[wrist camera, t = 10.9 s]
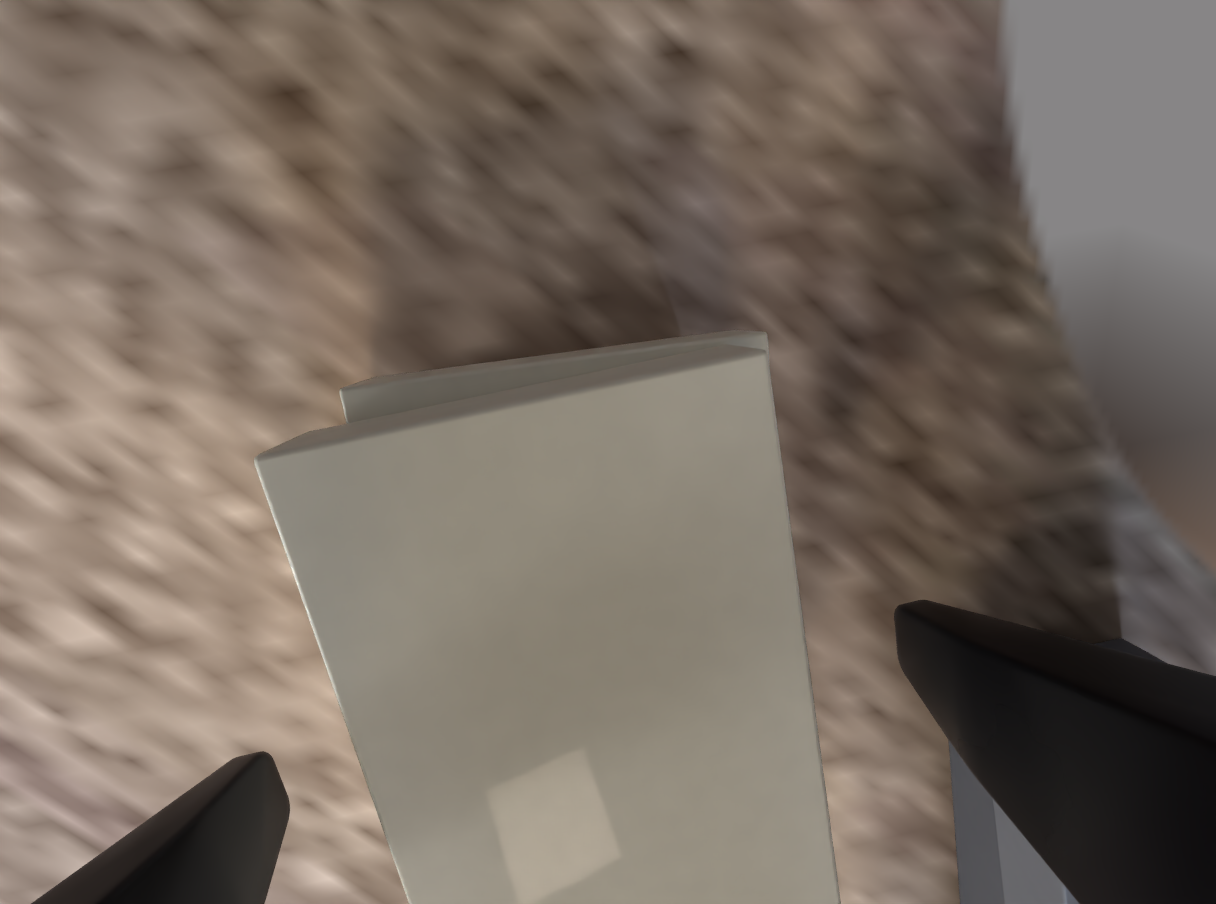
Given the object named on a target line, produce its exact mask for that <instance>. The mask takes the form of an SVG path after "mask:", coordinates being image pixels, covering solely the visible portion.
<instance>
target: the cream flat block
mask: <svg viewBox="0 0 1216 904" xmlns="http://www.w3.org/2000/svg"><path fill="white" fill-rule="evenodd" d="M725 344H728V345H735V346H742V347H749V348H757V349H762V350H765V351H766V353H767V354H768V360H769V350H768V335H767V333H766V332H763V331H746V330H728V331H721V332H713V333H706V334H698V335H691V336H683V337H675V338H668V339H660V340H653V341H645V342H638V343H630V344H623V345H615V346H607V347H600V348H592V349H585V350H577V351H570V352H562V353H555V354H547V355H540V356H532V357H524V358H517V359H509V360H502V361H494V362H487V363H479V364H472V365H464V366H456V367H449V368H441V369H434V370H426V371H419V372H411V373H404V374H396V375H389V376H381V377H374V378H370V379H367V380H364V381H361V382H358V383H355V384H352V385H349V386H345V387H343V388H341V389H340V397H341V402H342V406H343V410H344V415H345V419H346V423H352V422H357V421H362V420H366V419H371V418H376V417H381V416H386V415H390V414H395V413H400V412H405V411H410V410H414V409H419V408H424V407H429V406H433V405H438V404H443V403H448V402H453V401H457V400H462V399H467V398H472V397H477V396H481V395H486V394H491V393H496V392H500V391H505V390H510V389H515V388H520V387H524V386H529V385H534V384H539V383H544V382H548V381H553V380H558V379H563V378H567V377H572V376H577V375H582V374H587V373H591V372H596V371H601V370H606V369H611V368H615V367H620V366H625V365H630V364H635V363H639V362H644V361H649V360H654V359H658V358H663V357H668V356H673V355H678V354H682V353H687V352H692V351H697V350H702V349H706V348H711V347H716V346H721V345H725ZM769 368H770V366H769Z"/></svg>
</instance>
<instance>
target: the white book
mask: <svg viewBox="0 0 1216 904" xmlns="http://www.w3.org/2000/svg"><path fill="white" fill-rule="evenodd" d="M254 464H255V467H256V470H257V473H258V476H259V478H260V481H261V484H262V487H263V490H264V493H265V495H266V498H267V501H268V504H269V507H270V510H271V512H272V515H273V518H274V521H275V524H276V527H277V530H278V532H279V535H280V538H281V541H282V544H283V547H284V549H285V552H286V555H287V558H288V561H289V564H290V566H291V569H292V572H293V575H294V578H295V581H296V583H297V586H298V589H299V592H300V595H301V598H302V601H303V603H304V606H305V609H306V612H307V615H308V618H309V620H310V623H311V626H312V629H313V632H314V635H315V637H316V640H317V643H318V646H319V649H320V652H321V655H322V657H323V660H324V663H325V666H326V669H327V672H328V674H329V677H330V680H331V683H332V686H333V689H334V691H335V694H336V697H337V700H338V703H339V706H340V708H341V711H342V714H343V717H344V720H345V723H346V726H347V728H348V731H349V734H350V737H351V740H352V743H353V745H354V748H355V751H356V754H357V757H358V760H359V762H360V765H361V768H362V771H363V774H364V777H365V779H366V782H367V785H368V788H369V791H370V794H371V797H372V799H373V802H374V805H375V808H376V811H377V814H378V816H379V819H380V822H381V825H382V828H383V831H384V833H385V836H386V839H387V842H388V845H389V848H390V851H391V853H392V856H393V859H394V862H395V865H396V868H397V870H398V873H399V876H400V879H401V882H402V885H403V887H404V890H405V893H406V896H407V899H408V902H409V904H841V901H840V894H839V886H838V879H837V871H836V864H835V856H834V849H833V841H832V834H831V826H830V819H829V811H828V804H827V796H826V789H825V781H824V774H823V766H822V759H821V751H820V744H819V736H818V729H817V721H816V713H815V706H814V698H813V691H812V683H811V676H810V668H809V661H808V653H807V646H806V638H805V631H804V623H803V616H802V608H801V601H800V593H799V586H798V578H797V571H796V563H795V556H794V548H793V541H792V533H791V526H790V518H789V511H788V503H787V496H786V488H785V481H784V473H783V466H782V458H781V451H780V443H779V436H778V428H777V420H776V413H775V405H774V398H773V390H772V383H771V375H770V368H769V360H768V354H767V353H766V351H765V350H762V349H757V348H749V347H742V346H735V345H728V344H725V345H721V346H716V347H711V348H706V349H702V350H697V351H692V352H687V353H682V354H678V355H673V356H668V357H663V358H658V359H654V360H649V361H644V362H639V363H635V364H630V365H625V366H620V367H615V368H611V369H606V370H601V371H596V372H591V373H587V374H582V375H577V376H572V377H567V378H563V379H558V380H553V381H548V382H544V383H539V384H534V385H529V386H524V387H520V388H515V389H510V390H505V391H500V392H496V393H491V394H486V395H481V396H477V397H472V398H467V399H462V400H457V401H453V402H448V403H443V404H438V405H433V406H429V407H424V408H419V409H414V410H410V411H405V412H400V413H395V414H390V415H386V416H381V417H376V418H371V419H366V420H362V421H357V422H352V423H347V424H343V425H338V426H333V427H328V428H323V429H319V430H314V431H309V432H307V433H304V434H302V435H300V436H298V437H296V438H293V439H291V440H289V441H287V442H285V443H282V444H280V445H278V446H276V447H274V448H271V449H269V450H267V451H265V452H263V453H260V454H259V455H257V456H256V457H255V458H254Z"/></svg>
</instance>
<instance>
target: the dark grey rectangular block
mask: <svg viewBox="0 0 1216 904" xmlns="http://www.w3.org/2000/svg"><path fill="white" fill-rule="evenodd" d="M1095 645H1099V646H1102V647H1106V648H1110V649H1114V650H1117V651H1121V652H1125V653H1129V654H1133V655H1136V656H1140V657H1144V658H1148V659H1152V660H1155V661H1159V662H1163V663H1166V662H1164V661H1162V660H1160V659H1158V658H1157V657H1155V656H1153V655H1151V654H1149V653H1148V652H1146V651H1144V650H1142V649H1141V648H1139V647H1137V646H1135V645H1133V644H1132V643H1130V642H1128V641H1126V640H1124V639H1122V638H1118V639H1114V640H1110V641H1106V642H1101V643H1097V644H1095ZM949 752H950V766H951V780H952V794H953V809H954V823H955V837H956V851H957V866H958V880H959V894H960V904H1079V903H1078V902H1077V900H1076V899H1075V898H1074V897H1073V895H1072V894H1071V893H1070V892H1069V891H1068V889H1067V888H1066V887H1065V886H1064V885H1063V883H1062V882H1061V881H1060V880H1059V878H1058V877H1057V876H1056V875H1055V874H1054V872H1053V871H1052V870H1051V869H1050V868H1049V866H1048V865H1047V864H1046V863H1045V861H1044V860H1043V859H1042V858H1041V857H1040V855H1039V854H1038V853H1037V852H1036V850H1035V849H1034V848H1033V847H1032V846H1031V844H1030V843H1029V842H1028V841H1027V840H1026V838H1025V837H1024V836H1023V835H1022V833H1021V832H1020V831H1019V830H1018V829H1017V827H1016V826H1015V825H1014V824H1013V823H1012V821H1011V820H1010V819H1009V818H1008V816H1007V815H1006V814H1005V813H1004V812H1003V810H1002V809H1001V808H1000V807H999V805H998V804H997V803H996V802H995V801H994V799H993V798H992V797H991V796H990V795H989V793H988V792H987V791H986V790H985V788H984V787H983V786H982V785H981V784H980V782H979V781H978V780H977V778H976V777H975V776H974V775H973V773H972V772H971V771H970V770H969V768H968V767H967V765H966V764H965V763H964V761H963V760H962V758H961V757H960V756H959V754H958V753H957V751H956V750H955V748H954V747H953V745H952V744H951V742H950V741H949Z"/></svg>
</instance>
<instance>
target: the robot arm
mask: <svg viewBox="0 0 1216 904" xmlns="http://www.w3.org/2000/svg"><path fill="white" fill-rule="evenodd" d="M894 621H895V632H896V643H897V654H898V660H899V663H900V666H901V668H902V670H903V672H904V674H905V676H906V677H907V679H908V680H909V682H910V683H911V684H912V686H913V687H914V689H915V690H916V692H917V693H918V695H919V696H920V698H921V699H922V701H923V702H924V704H925V705H926V707H927V708H928V710H929V711H930V713H931V714H932V716H933V717H934V719H935V720H936V722H937V723H938V725H939V726H940V728H941V729H942V731H943V732H944V734H945V735H946V737H947V738H948V739H949V741H950V742H951V744H952V745H953V747H954V748H955V750H956V751H957V753H958V754H959V756H960V757H961V758H962V760H963V761H964V763H965V764H966V765H967V767H968V768H969V770H970V771H971V772H972V773H973V775H974V776H975V777H976V778H977V780H978V781H979V782H980V784H981V785H982V786H983V787H984V788H985V790H986V791H987V792H988V793H989V795H990V796H991V797H992V798H993V799H994V801H995V802H996V803H997V804H998V805H999V807H1000V808H1001V809H1002V810H1003V812H1004V813H1005V814H1006V815H1007V816H1008V818H1009V819H1010V820H1011V821H1012V823H1013V824H1014V825H1015V826H1016V827H1017V829H1018V830H1019V831H1020V832H1021V833H1022V835H1023V836H1024V837H1025V838H1026V840H1027V841H1028V842H1029V843H1030V844H1031V846H1032V847H1033V848H1034V849H1035V850H1036V852H1037V853H1038V854H1039V855H1040V857H1041V858H1042V859H1043V860H1044V861H1045V863H1046V864H1047V865H1048V866H1049V868H1050V869H1051V870H1052V871H1053V872H1054V874H1055V875H1056V876H1057V877H1058V878H1059V880H1060V881H1061V882H1062V883H1063V885H1064V886H1065V887H1066V888H1067V889H1068V891H1069V892H1070V893H1071V894H1072V895H1073V897H1074V898H1075V899H1076V900H1077V902H1078V903H1079V904H1216V676H1212V675H1209V674H1205V673H1201V672H1197V671H1193V670H1190V669H1186V668H1182V667H1178V666H1174V665H1171V664H1167V663H1163V662H1159V661H1155V660H1152V659H1148V658H1144V657H1140V656H1136V655H1133V654H1129V653H1125V652H1121V651H1117V650H1114V649H1110V648H1106V647H1102V646H1099V645H1095V644H1091V643H1087V642H1083V641H1080V640H1076V639H1072V638H1068V637H1064V636H1061V635H1057V634H1053V633H1049V632H1046V631H1042V630H1038V629H1034V628H1030V627H1027V626H1023V625H1019V624H1015V623H1011V622H1008V621H1004V620H1000V619H996V618H993V617H989V616H985V615H981V614H977V613H974V612H970V611H966V610H962V609H958V608H955V607H951V606H947V605H943V604H940V603H936V602H932V601H928V600H918V601H914V602H910V603H905V604H901V605H899V606H898V607H897V608H896V609H895V613H894ZM289 813H290V804H289V798H288V795H287V793H286V790H285V787H284V785H283V782H282V780H281V777H280V775H279V772H278V770H277V767H276V765H275V762H274V760H273V758H272V756H271V755H270V754H269V753H267V752H264V751H263V752H257V753H252V754H248V755H244V756H239V757H236V758H234V759H232V760H230V761H229V762H228V763H226V764H225V765H223V766H222V767H221V768H219V769H218V770H216V771H215V772H214V773H212V774H211V775H210V776H208V777H207V778H205V779H204V780H203V781H201V782H200V783H198V784H197V785H196V786H194V787H193V788H191V789H190V790H189V791H187V792H186V793H184V794H183V795H182V796H180V797H179V798H178V799H176V800H175V801H173V802H172V803H171V804H169V805H168V806H166V807H165V808H164V809H162V810H161V811H159V812H158V813H157V814H155V815H154V816H152V817H151V818H150V819H148V820H147V821H146V822H144V823H143V824H141V825H140V826H139V827H137V828H136V829H134V830H133V831H132V832H130V833H129V834H127V835H126V836H125V837H123V838H122V839H120V840H119V841H118V842H116V843H115V844H114V845H112V846H111V847H109V848H108V849H107V850H105V851H104V852H102V853H101V854H100V855H98V856H97V857H95V858H94V859H93V860H91V861H90V862H88V863H87V864H86V865H84V866H83V867H82V868H80V869H79V870H77V871H76V872H75V873H73V874H72V875H70V876H69V877H68V878H66V879H65V880H63V881H62V882H61V883H59V884H58V885H56V886H55V887H54V888H52V889H51V890H50V891H48V892H47V893H45V894H44V895H43V896H41V897H40V898H38V899H37V900H36V901H34V902H33V903H31V904H264V903H265V900H266V896H267V893H268V889H269V886H270V882H271V879H272V876H273V872H274V869H275V865H276V862H277V858H278V855H279V851H280V848H281V844H282V841H283V837H284V834H285V830H286V827H287V823H288V819H289Z"/></svg>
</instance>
